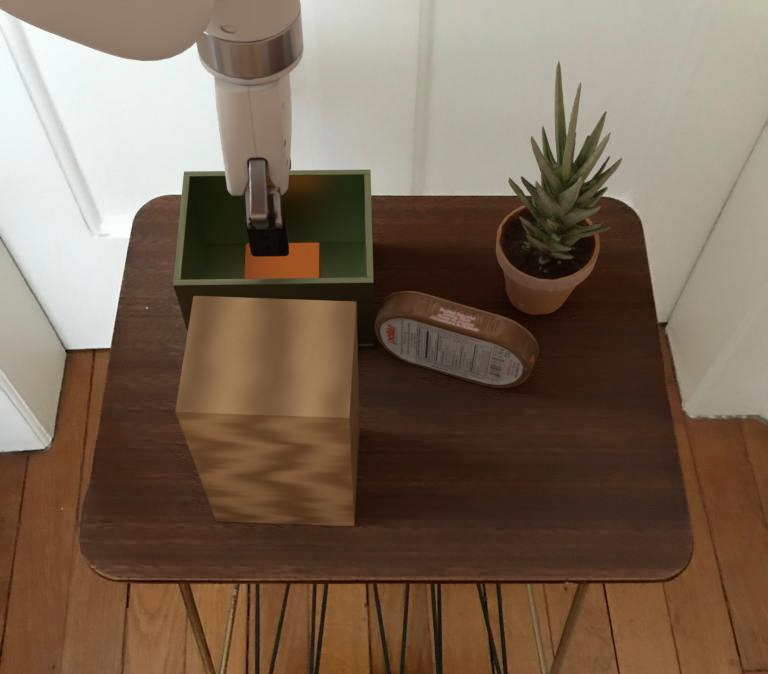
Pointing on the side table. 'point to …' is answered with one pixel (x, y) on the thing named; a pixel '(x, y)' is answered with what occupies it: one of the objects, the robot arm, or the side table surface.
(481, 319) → the tin
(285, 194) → the trash bin
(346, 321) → the wood grain block
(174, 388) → the side table surface
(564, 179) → the potted plant
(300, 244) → the block
